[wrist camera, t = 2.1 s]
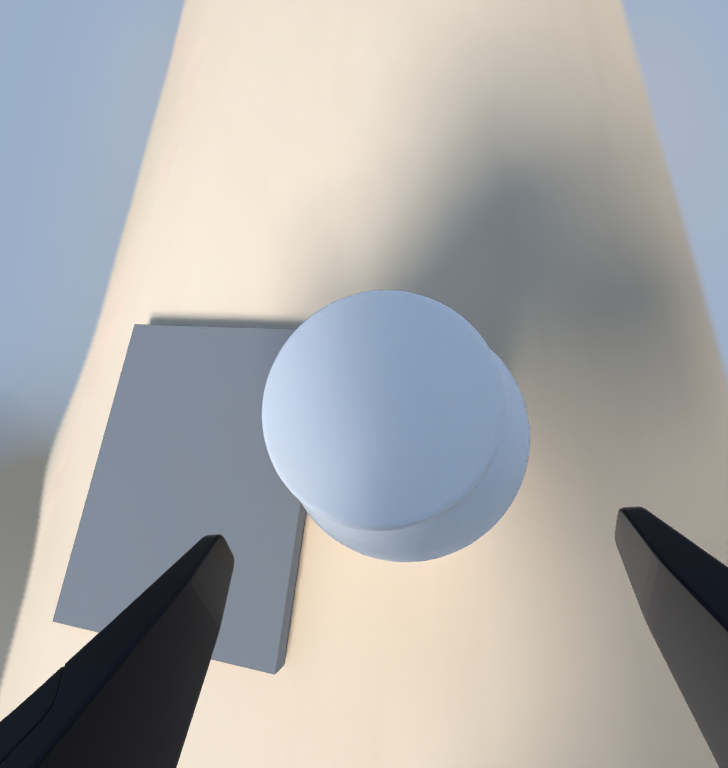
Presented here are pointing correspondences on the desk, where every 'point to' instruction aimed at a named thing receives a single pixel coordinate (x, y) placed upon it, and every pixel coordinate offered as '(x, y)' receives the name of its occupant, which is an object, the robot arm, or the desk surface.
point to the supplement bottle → (396, 426)
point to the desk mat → (190, 488)
